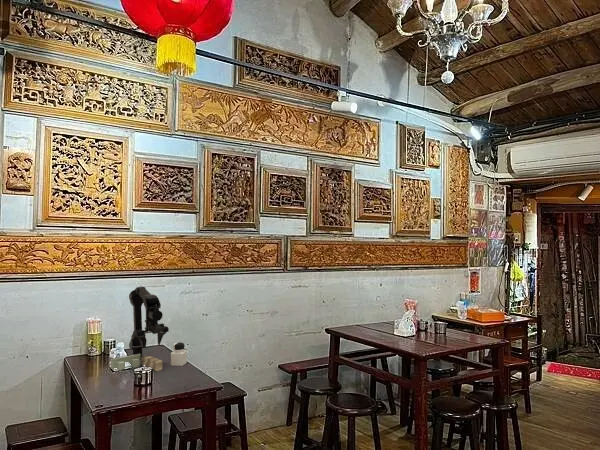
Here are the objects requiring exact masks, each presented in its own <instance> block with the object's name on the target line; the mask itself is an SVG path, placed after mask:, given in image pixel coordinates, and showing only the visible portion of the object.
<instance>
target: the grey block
mask: <svg viewBox="0 0 600 450" xmlns="http://www.w3.org/2000/svg"><path fill="white" fill-rule="evenodd" d="M140 355H141V354H136V355H127V356H125V355H124V356H121V357H116V358H111V359H110V370H111V369H112V371H114V370H113V369H114V368H117V369H119V370H120V371H123V370H122V369H125V368H126V367H125V362H129V363H130V364H131V365H132V366H131V368H139V367H140V365H141V359H140ZM117 369H116V370H117ZM119 370H118V371H119ZM125 370H126V369H125Z"/></svg>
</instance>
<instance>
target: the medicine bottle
mask: <svg viewBox="0 0 600 450" xmlns="http://www.w3.org/2000/svg"><path fill="white" fill-rule="evenodd" d="M172 347H173V349H172V352H170V366H172V367H173V366H175V367H183V366H184V365H186V364H187V363H188V351H187V349H186V350H185V343H184V342H175V343H173V346H172Z"/></svg>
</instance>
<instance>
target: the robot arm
mask: <svg viewBox="0 0 600 450" xmlns="http://www.w3.org/2000/svg"><path fill="white" fill-rule="evenodd" d="M128 300H129V303H130V304H131V306H132V310H133V312H132V314H133V332H132V334H131V337H130V341H129V343H128V347H129V349H130V350H132V351H131V353H132V355H136V354H141V355H143V349H145V348H146V347H147V341H148V340H147V337H146V334H150V333H152V335H155V334H157V335H156V336H157V345H158V346H160V345H161V343H162V339H163V337H164V336H165V334H167V333H168V332H169V331H170V330H169V329H170V328H169V327H168V325H167V326H166V325H165V323H163V322H162V323H159V321H160V320H162V319H163V315H164V314H163V312H162V311H161V310H160V309H161V306H162V304H161V301H160V299H159V297H158V296H157V295H155V294H151V293H150V292H149V290H147V289H146V287H145V286H136V287H135V289H133V290H132V291H130V292H129V294H128ZM143 305H144V309H145V319H144V323H145V327H144V329H143V321H142V320H143V317H142V316H143V315H142V313H143V312H142V306H143ZM141 355H140V360H142V356H141Z"/></svg>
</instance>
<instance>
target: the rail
mask: <svg viewBox="0 0 600 450" xmlns="http://www.w3.org/2000/svg"><path fill="white" fill-rule="evenodd" d="M141 356H142V359H141V366H143V365H145V366H148V367H152V368H153V369H154V370H153V371H155V372H159V371H162V370H163V360H162V359H159V358H157V357H154V356H151V354H142V355H141ZM145 366H144V367H145ZM148 367H147V368H148Z"/></svg>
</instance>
